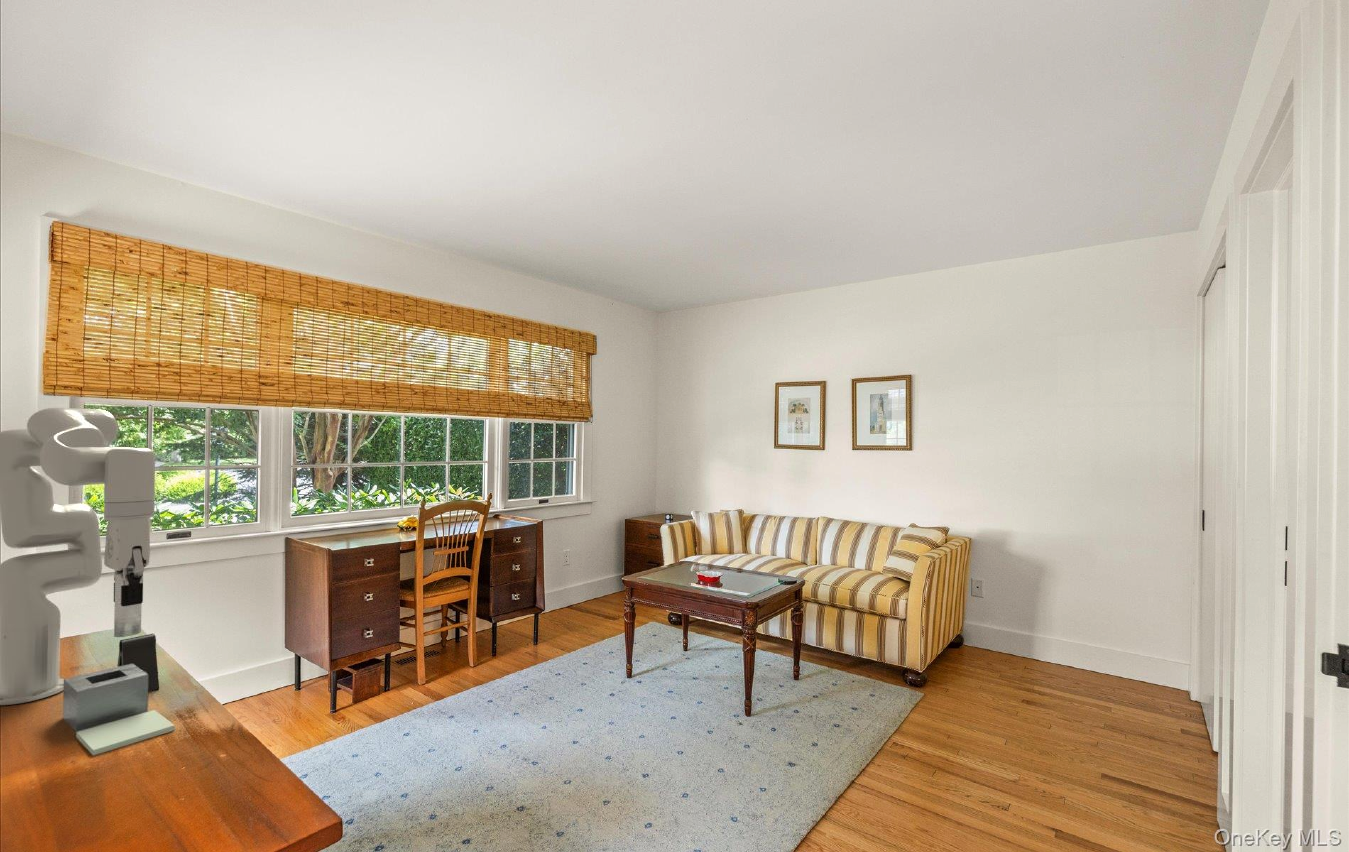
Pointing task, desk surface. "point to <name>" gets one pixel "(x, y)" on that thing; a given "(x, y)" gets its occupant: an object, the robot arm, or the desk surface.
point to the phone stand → (141, 657)
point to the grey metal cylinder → (125, 613)
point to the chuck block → (104, 696)
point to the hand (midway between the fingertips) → (128, 602)
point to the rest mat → (124, 732)
